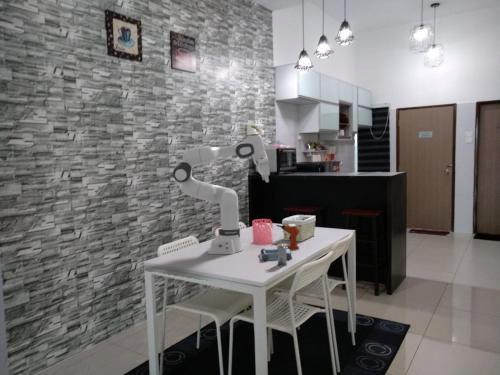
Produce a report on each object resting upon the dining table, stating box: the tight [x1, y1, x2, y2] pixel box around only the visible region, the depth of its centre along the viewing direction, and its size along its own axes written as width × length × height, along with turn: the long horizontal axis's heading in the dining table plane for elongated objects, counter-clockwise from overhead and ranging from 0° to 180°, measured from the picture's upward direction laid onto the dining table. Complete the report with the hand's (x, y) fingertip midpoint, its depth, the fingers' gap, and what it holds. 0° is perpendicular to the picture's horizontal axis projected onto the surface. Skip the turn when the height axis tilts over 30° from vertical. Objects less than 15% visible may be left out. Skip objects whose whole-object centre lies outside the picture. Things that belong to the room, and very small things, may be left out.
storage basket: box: [281, 214, 317, 242], centre depth 272 cm, size 24×16×15 cm
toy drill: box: [276, 224, 300, 251], centre depth 246 cm, size 5×19×15 cm, turn 44°
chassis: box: [259, 247, 293, 262], centre depth 225 cm, size 18×14×4 cm
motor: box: [276, 243, 288, 267], centre depth 209 cm, size 5×5×11 cm
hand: (265, 180), depth 240 cm, fingers open, 8 cm apart
